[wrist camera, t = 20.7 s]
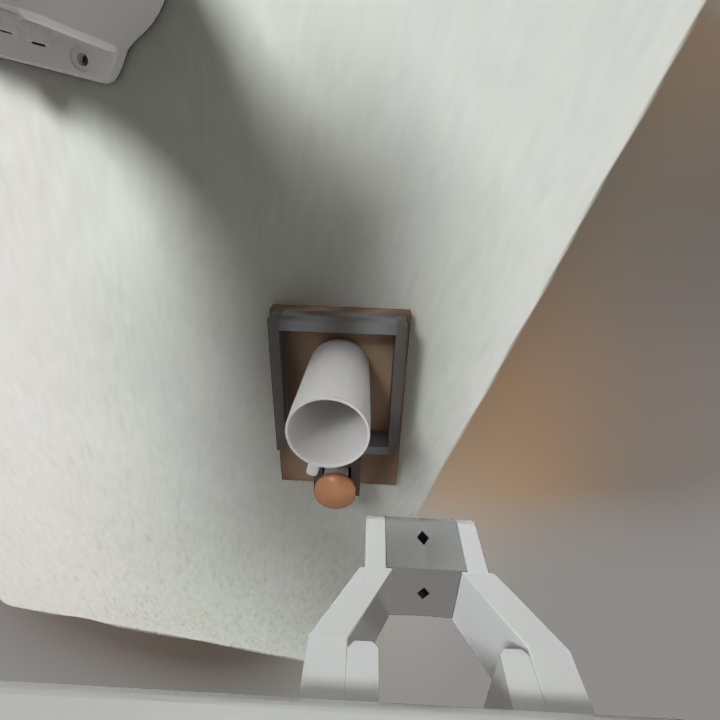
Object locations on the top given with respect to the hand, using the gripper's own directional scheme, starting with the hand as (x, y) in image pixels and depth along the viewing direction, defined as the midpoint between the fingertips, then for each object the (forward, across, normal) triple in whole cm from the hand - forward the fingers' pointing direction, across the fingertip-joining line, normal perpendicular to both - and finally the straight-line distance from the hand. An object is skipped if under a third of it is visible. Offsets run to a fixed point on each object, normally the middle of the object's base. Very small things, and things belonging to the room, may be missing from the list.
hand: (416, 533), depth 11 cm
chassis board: (+31, +4, +15) cm, 35 cm away
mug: (+30, +5, +11) cm, 32 cm away
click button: (+29, +5, +22) cm, 37 cm away
